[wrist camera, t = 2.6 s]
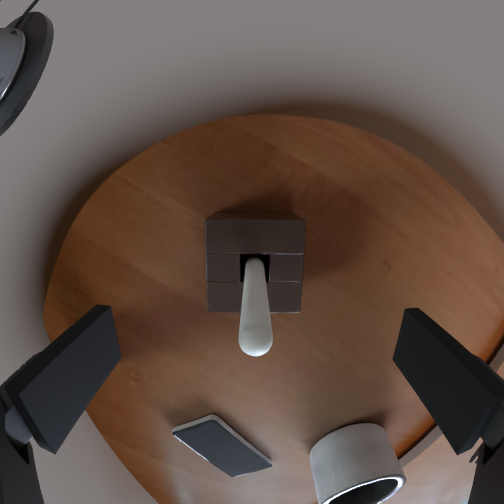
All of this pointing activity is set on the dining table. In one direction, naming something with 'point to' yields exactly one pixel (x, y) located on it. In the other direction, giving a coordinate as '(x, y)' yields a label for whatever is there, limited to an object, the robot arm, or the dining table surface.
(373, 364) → the dining table surface
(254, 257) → the stylus
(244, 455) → the smartphone
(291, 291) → the pen stand
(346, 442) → the planter
